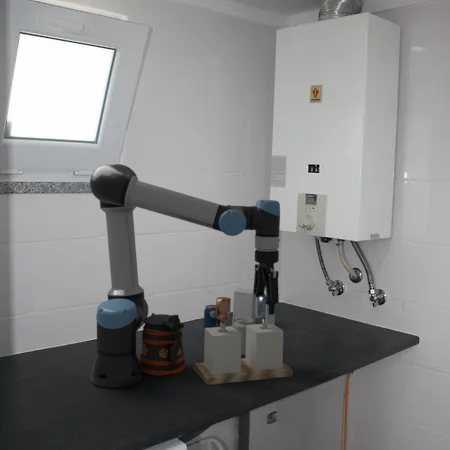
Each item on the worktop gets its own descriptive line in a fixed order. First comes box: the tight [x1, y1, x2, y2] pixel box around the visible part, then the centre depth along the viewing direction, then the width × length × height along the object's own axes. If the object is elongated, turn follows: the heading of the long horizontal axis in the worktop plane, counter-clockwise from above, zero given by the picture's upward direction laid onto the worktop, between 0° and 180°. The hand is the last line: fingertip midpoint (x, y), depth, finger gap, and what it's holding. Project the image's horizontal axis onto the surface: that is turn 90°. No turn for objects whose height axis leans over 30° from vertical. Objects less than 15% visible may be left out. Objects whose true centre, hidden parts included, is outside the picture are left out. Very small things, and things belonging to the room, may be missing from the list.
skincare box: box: [231, 287, 257, 328], centre depth 236 cm, size 8×7×16 cm
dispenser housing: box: [203, 323, 284, 375], centre depth 186 cm, size 23×9×12 cm, turn 109°
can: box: [234, 318, 256, 357], centre depth 205 cm, size 8×8×12 cm
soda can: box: [203, 304, 220, 337], centre depth 222 cm, size 7×7×12 cm
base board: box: [193, 358, 294, 386], centre depth 186 cm, size 28×14×2 cm, turn 109°
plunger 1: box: [215, 296, 232, 333], centre depth 183 cm, size 4×4×19 cm
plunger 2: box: [258, 294, 267, 329], centre depth 187 cm, size 4×4×19 cm
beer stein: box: [139, 312, 186, 377], centre depth 186 cm, size 19×15×20 cm
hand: (264, 320), depth 187 cm, fingers open, 8 cm apart
